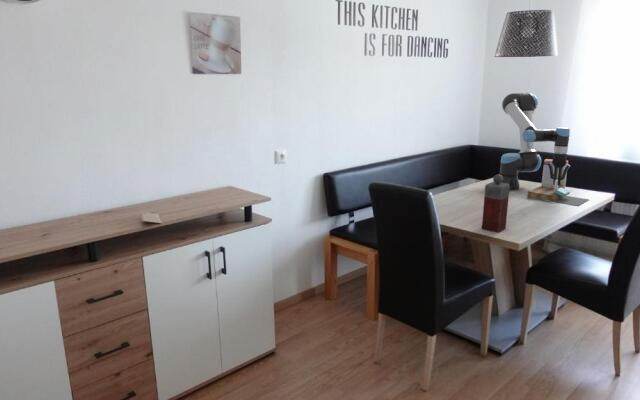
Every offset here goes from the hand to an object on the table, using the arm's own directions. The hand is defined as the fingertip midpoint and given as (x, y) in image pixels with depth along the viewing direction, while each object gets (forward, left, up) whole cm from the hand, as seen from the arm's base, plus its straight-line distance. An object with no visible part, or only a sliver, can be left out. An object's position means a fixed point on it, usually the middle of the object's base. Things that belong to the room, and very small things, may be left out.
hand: (555, 190), depth 299 cm
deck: (-5, 0, -5) cm, 7 cm away
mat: (+10, 0, -5) cm, 11 cm away
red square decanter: (0, -84, -5) cm, 84 cm away
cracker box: (-8, +19, -5) cm, 22 cm away
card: (+3, 0, -1) cm, 4 cm away
